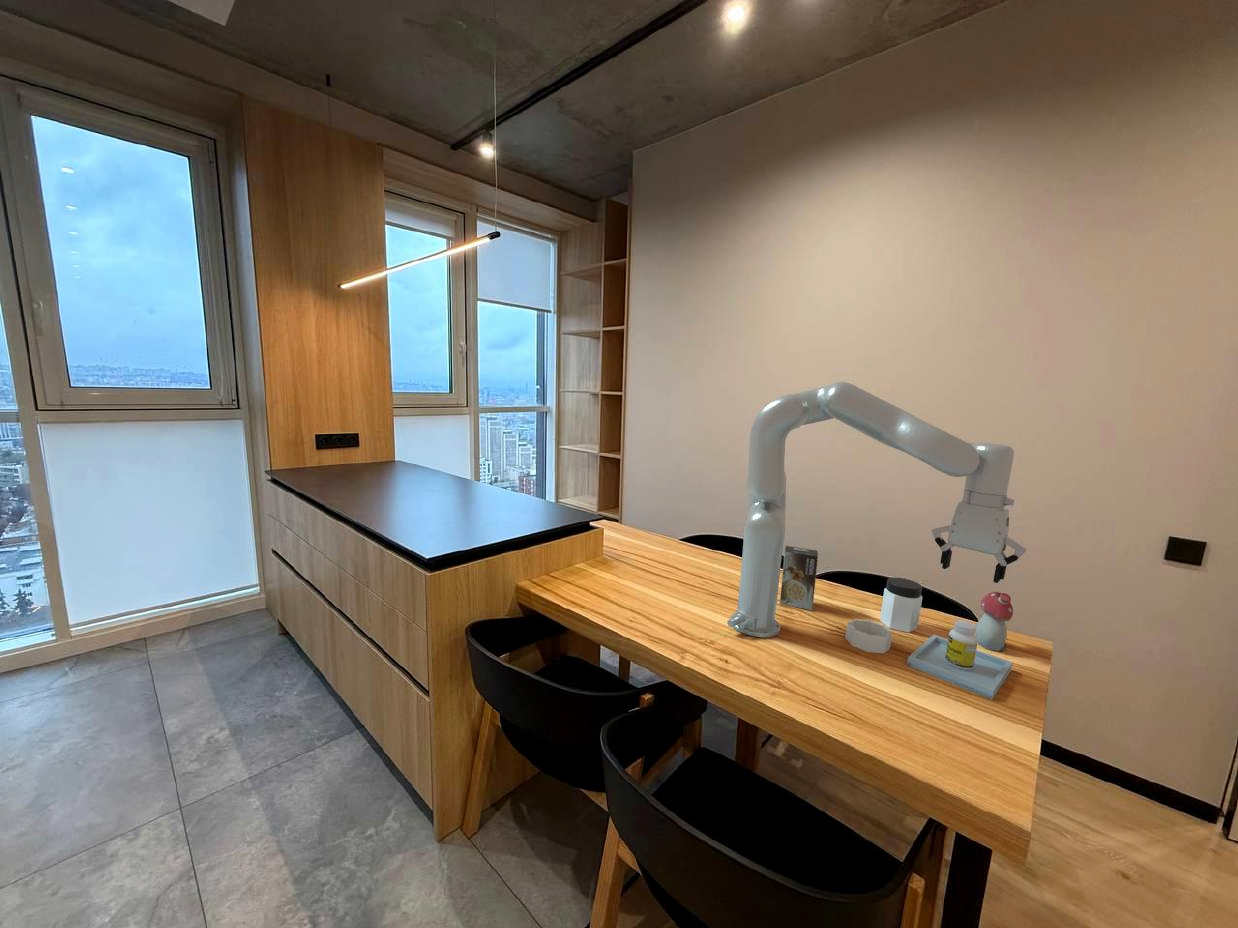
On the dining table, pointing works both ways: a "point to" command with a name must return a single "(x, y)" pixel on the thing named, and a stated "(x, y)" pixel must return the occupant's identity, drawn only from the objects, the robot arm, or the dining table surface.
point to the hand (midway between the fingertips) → (970, 574)
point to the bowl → (868, 636)
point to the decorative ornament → (994, 621)
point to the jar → (901, 604)
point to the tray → (978, 680)
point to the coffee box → (799, 577)
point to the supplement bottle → (962, 646)
